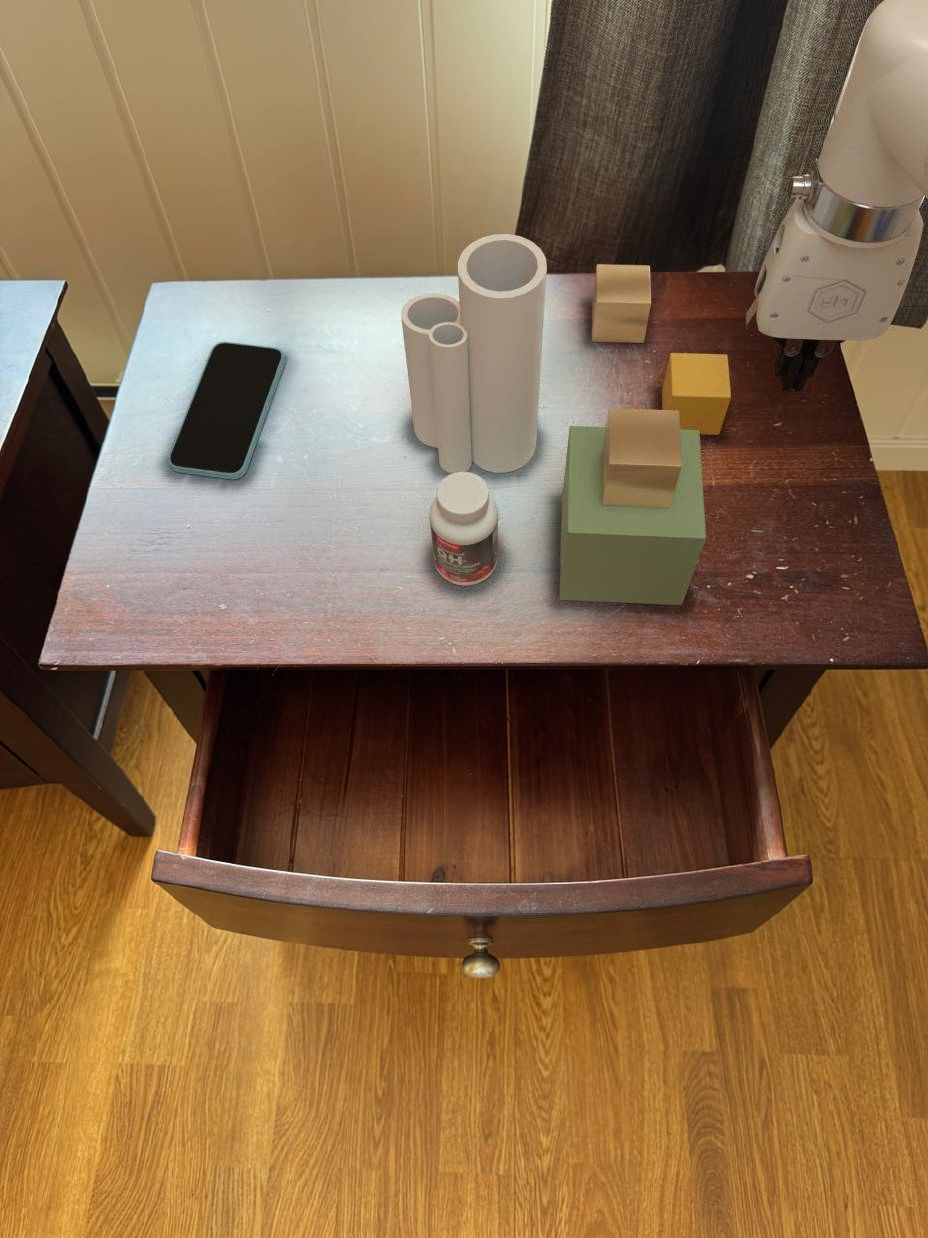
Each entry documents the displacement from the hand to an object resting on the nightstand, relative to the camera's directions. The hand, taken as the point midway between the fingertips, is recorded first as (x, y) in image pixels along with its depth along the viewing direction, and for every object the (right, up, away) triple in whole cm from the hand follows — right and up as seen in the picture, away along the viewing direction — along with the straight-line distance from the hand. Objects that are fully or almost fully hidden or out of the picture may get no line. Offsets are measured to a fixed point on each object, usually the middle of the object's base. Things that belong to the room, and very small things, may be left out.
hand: (790, 378), depth 81 cm
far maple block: (-13, +8, +10) cm, 19 cm away
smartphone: (-50, -2, +6) cm, 51 cm away
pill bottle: (-28, -16, -2) cm, 33 cm away
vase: (-27, -5, +4) cm, 28 cm away
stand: (-15, -15, -2) cm, 22 cm away
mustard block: (-8, -2, +5) cm, 9 cm away
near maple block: (-15, -10, -11) cm, 22 cm away
